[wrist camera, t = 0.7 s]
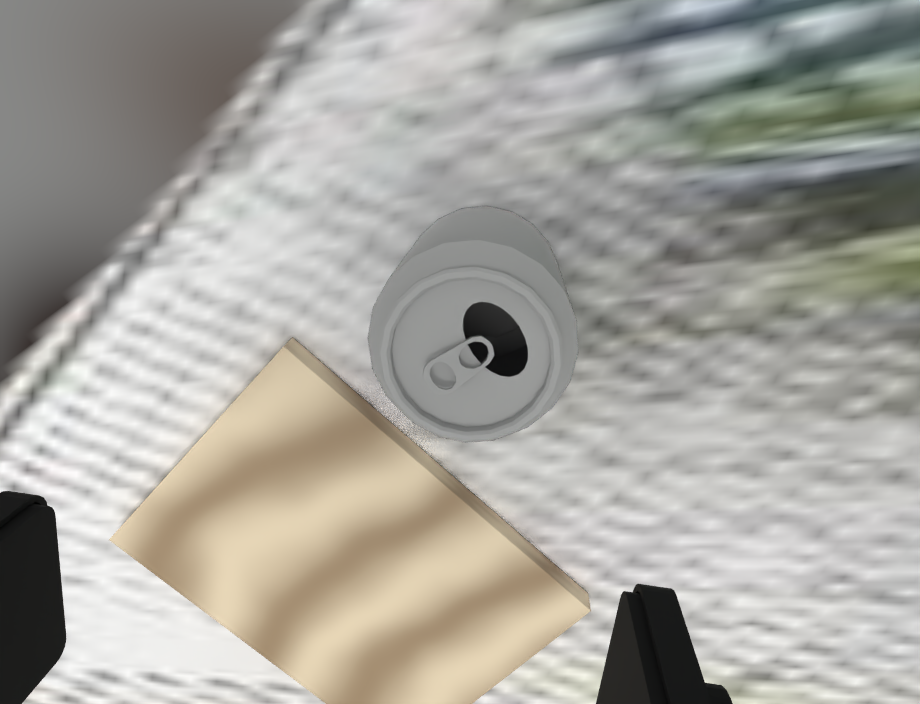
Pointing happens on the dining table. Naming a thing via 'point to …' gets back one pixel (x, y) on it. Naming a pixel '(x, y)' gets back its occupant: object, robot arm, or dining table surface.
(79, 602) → the dining table surface
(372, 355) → the can
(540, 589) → the oak board
